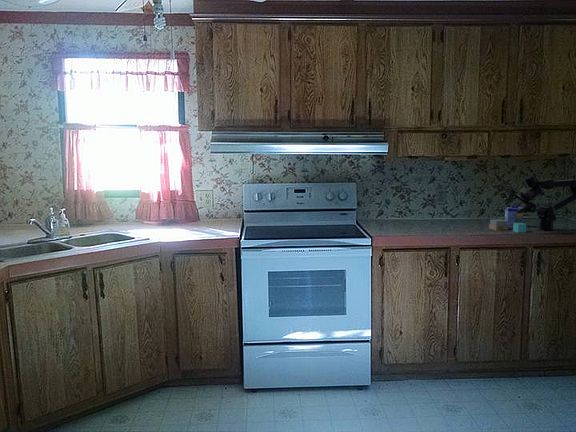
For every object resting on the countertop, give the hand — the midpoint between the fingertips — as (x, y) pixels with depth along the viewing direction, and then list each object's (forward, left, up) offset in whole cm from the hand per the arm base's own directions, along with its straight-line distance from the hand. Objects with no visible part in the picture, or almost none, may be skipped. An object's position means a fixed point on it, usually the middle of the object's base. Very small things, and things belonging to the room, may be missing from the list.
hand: (511, 208), depth 293 cm
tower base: (+2, -10, -14) cm, 18 cm away
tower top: (+2, -10, -11) cm, 15 cm away
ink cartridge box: (-12, -16, -14) cm, 25 cm away
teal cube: (-5, +1, -14) cm, 15 cm away
